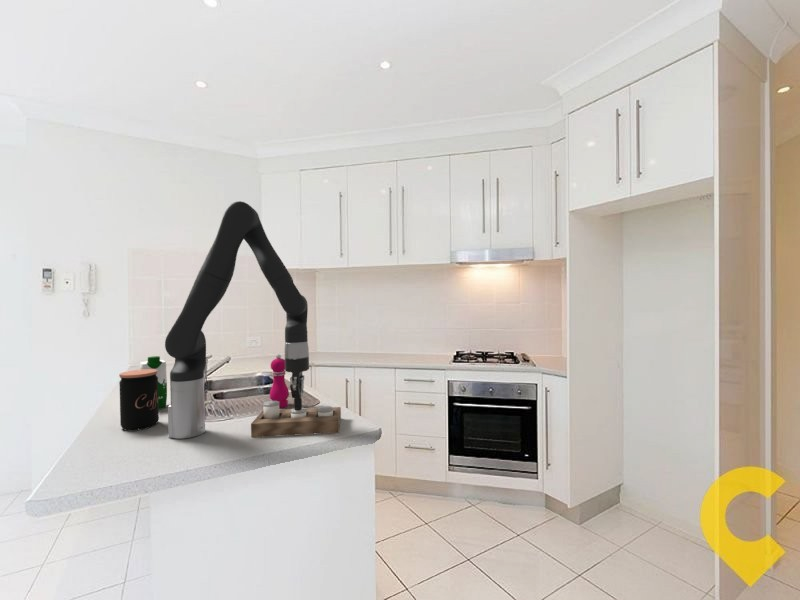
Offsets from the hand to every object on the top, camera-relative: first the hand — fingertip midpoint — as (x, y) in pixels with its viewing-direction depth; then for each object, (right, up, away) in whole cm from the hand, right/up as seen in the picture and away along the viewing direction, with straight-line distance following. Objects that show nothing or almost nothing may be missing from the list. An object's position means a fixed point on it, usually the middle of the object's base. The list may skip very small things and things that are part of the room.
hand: (298, 409), depth 127 cm
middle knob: (0, -5, 0) cm, 5 cm away
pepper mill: (-14, -6, +26) cm, 30 cm away
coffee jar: (-54, -7, +5) cm, 55 cm away
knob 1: (-8, -3, -1) cm, 9 cm away
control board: (0, -6, 0) cm, 6 cm away
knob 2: (+9, -5, +1) cm, 10 cm away
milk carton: (-63, -7, +27) cm, 69 cm away
